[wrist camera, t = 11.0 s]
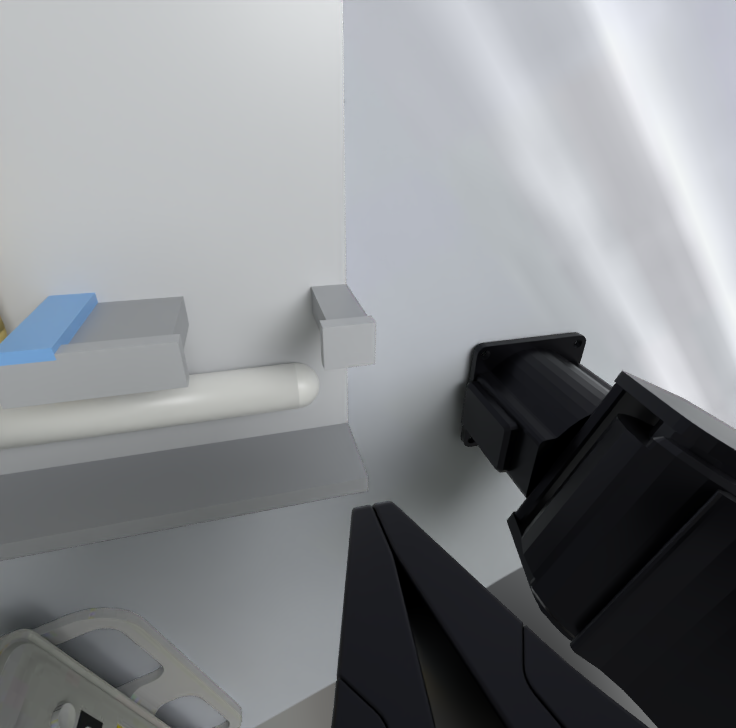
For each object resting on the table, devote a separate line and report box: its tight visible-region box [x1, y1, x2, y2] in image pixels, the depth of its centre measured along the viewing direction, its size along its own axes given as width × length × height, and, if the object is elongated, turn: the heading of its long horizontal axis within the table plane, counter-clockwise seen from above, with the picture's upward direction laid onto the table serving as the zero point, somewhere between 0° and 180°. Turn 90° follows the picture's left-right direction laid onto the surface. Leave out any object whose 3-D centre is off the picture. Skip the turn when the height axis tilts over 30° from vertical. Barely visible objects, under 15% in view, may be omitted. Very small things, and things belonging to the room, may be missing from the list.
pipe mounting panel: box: [0, 0, 376, 561], centre depth 14 cm, size 19×18×5 cm
